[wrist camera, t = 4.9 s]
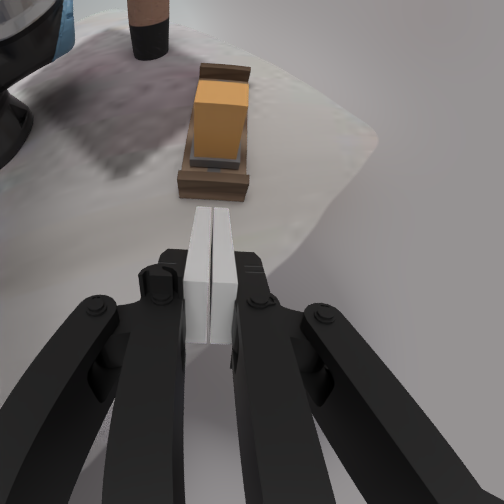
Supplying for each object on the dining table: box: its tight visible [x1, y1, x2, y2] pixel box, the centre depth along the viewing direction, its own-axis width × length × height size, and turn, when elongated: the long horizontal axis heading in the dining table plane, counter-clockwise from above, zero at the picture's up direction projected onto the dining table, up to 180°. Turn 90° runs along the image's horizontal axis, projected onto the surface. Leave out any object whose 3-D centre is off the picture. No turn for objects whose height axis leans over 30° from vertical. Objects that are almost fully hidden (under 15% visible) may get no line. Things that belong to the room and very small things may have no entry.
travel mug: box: [127, 0, 169, 60], centre depth 31 cm, size 8×8×20 cm
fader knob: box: [190, 80, 249, 169], centre depth 28 cm, size 4×6×10 cm
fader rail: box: [177, 63, 251, 202], centre depth 34 cm, size 23×8×4 cm, turn 0°
